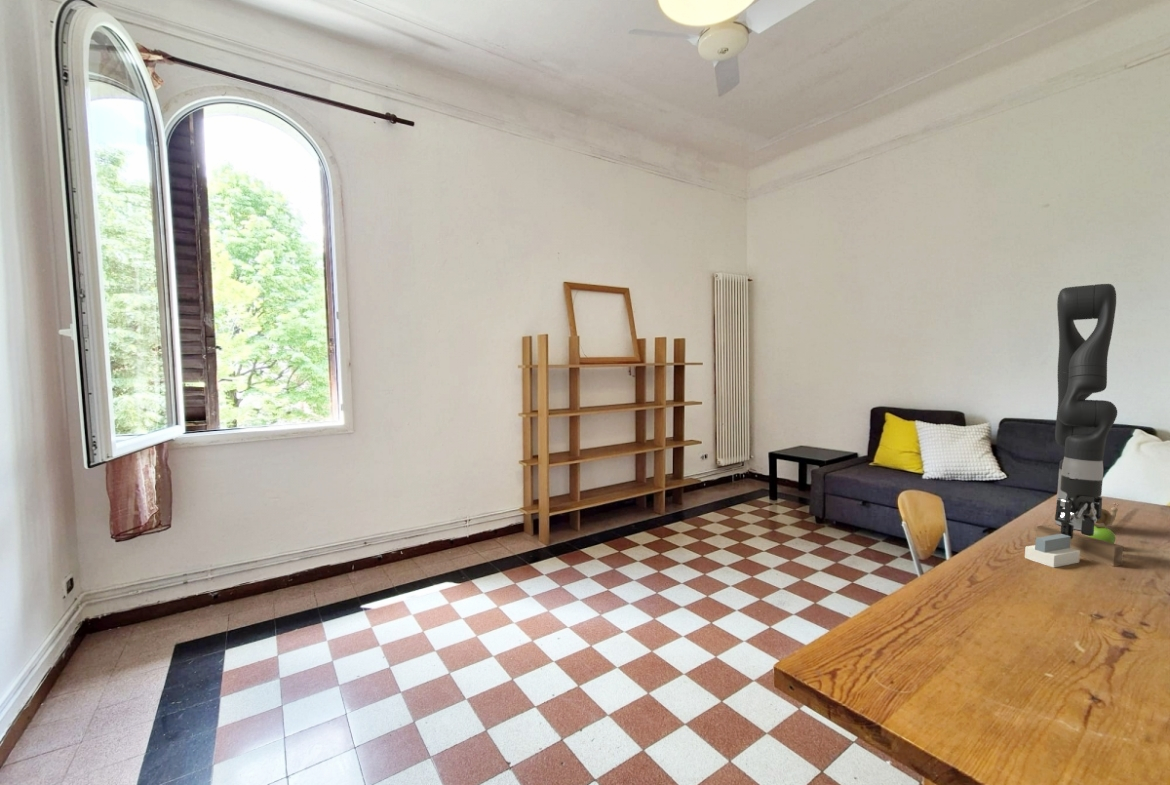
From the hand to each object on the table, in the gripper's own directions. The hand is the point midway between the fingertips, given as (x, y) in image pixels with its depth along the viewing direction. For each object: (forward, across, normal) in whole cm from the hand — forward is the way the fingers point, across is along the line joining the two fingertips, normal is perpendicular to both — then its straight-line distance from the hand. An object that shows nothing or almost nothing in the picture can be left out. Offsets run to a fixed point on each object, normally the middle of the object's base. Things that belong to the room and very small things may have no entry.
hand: (1076, 536), depth 127 cm
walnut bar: (+5, 0, 0) cm, 5 cm away
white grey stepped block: (+5, +12, +1) cm, 12 cm away
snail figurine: (+4, -14, -1) cm, 14 cm away
